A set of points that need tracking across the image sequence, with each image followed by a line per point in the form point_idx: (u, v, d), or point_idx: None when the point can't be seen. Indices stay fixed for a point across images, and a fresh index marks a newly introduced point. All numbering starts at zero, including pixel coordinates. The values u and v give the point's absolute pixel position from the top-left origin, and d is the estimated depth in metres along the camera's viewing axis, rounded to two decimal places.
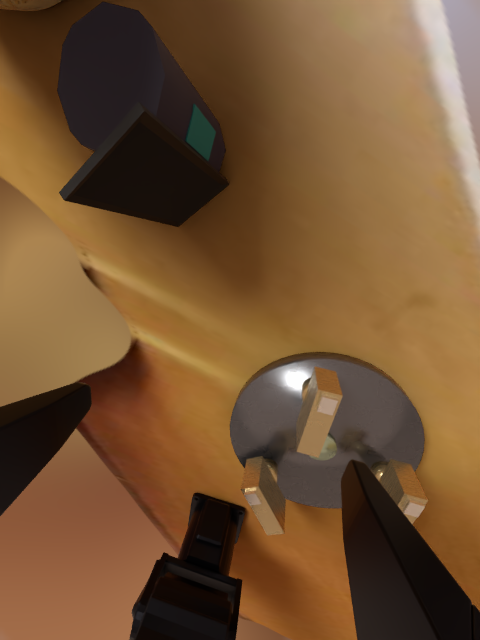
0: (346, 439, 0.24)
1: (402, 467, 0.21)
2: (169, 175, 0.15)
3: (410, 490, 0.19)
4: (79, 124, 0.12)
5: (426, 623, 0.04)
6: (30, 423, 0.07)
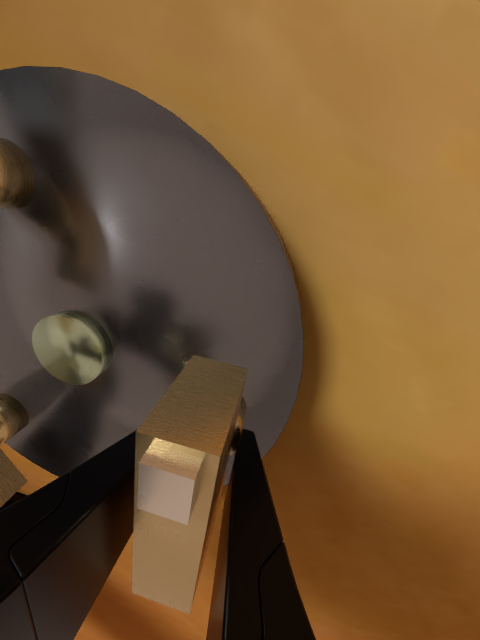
0: (128, 330, 0.10)
1: (212, 371, 0.07)
2: None
3: (174, 423, 0.05)
4: None
5: (227, 555, 0.05)
6: None
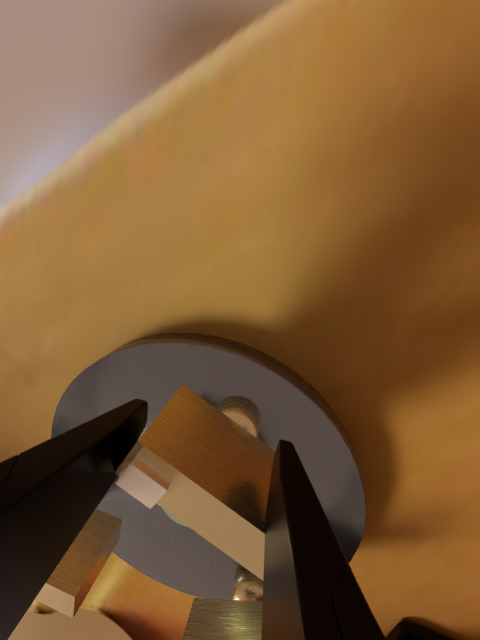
0: None
1: None
2: None
3: None
4: None
5: (294, 578, 0.05)
6: (103, 445, 0.07)
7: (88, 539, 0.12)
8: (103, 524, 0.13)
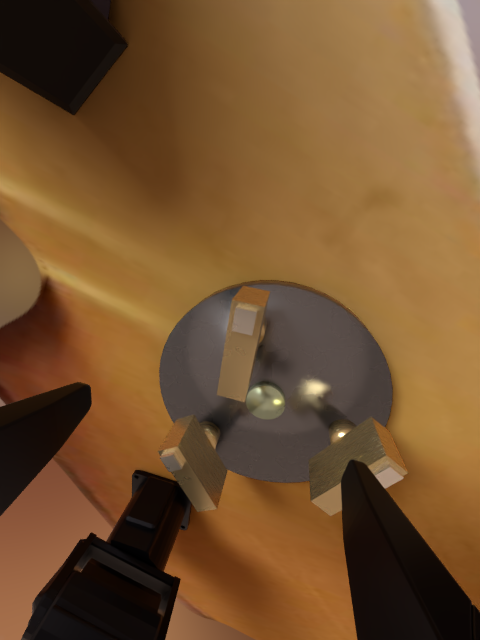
0: (297, 392, 0.19)
1: (382, 430, 0.16)
2: None
3: (391, 454, 0.14)
4: None
5: (426, 623, 0.04)
6: (30, 423, 0.07)
7: (252, 371, 0.16)
8: (253, 368, 0.16)
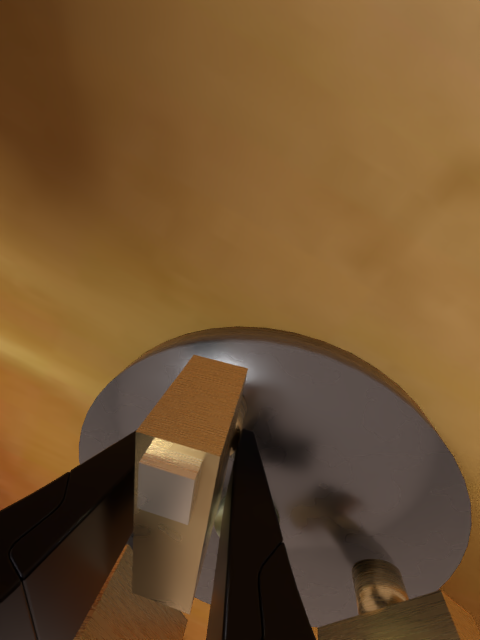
0: (300, 512, 0.11)
1: (465, 626, 0.08)
2: None
3: None
4: None
5: (227, 555, 0.05)
6: None
7: (213, 519, 0.08)
8: (219, 500, 0.09)
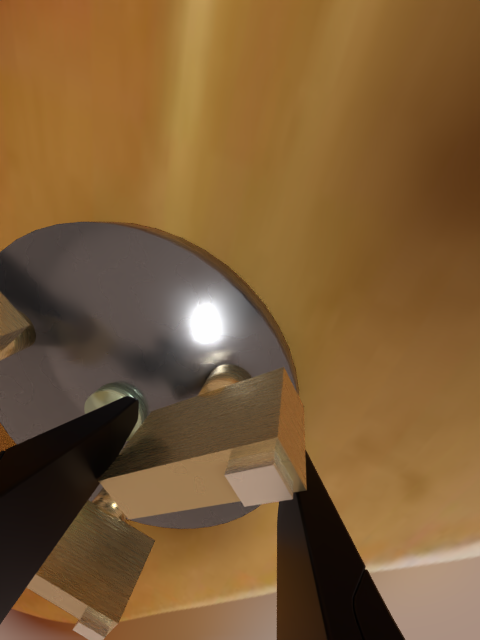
0: None
1: None
2: None
3: None
4: None
5: (314, 585, 0.05)
6: (91, 442, 0.07)
7: None
8: None
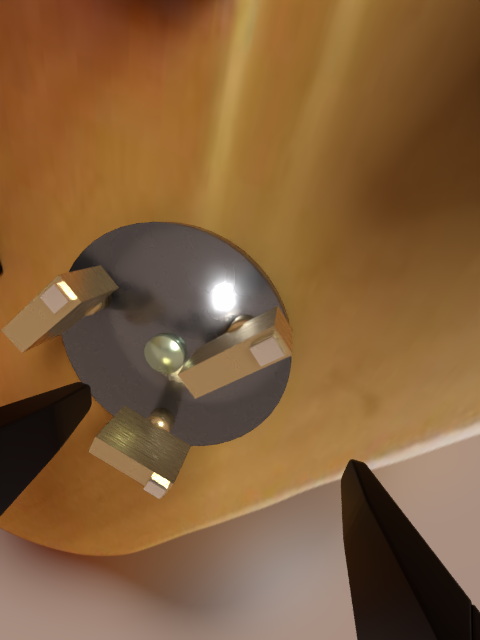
0: None
1: None
2: None
3: None
4: None
5: (426, 623, 0.04)
6: (30, 423, 0.07)
7: None
8: None
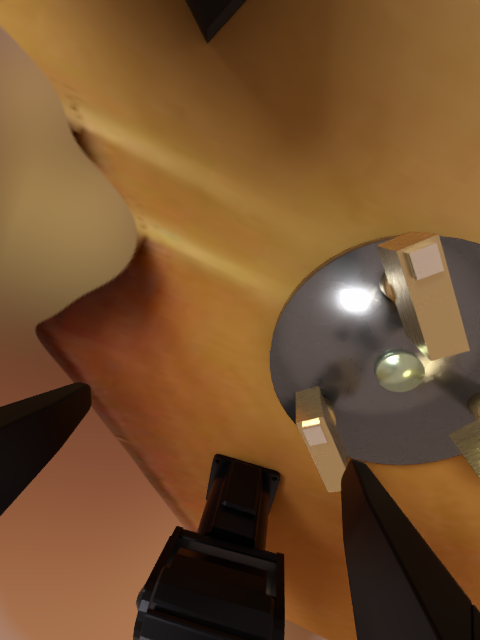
0: (436, 361, 0.17)
1: None
2: None
3: None
4: None
5: (426, 623, 0.04)
6: (30, 423, 0.07)
7: None
8: None
